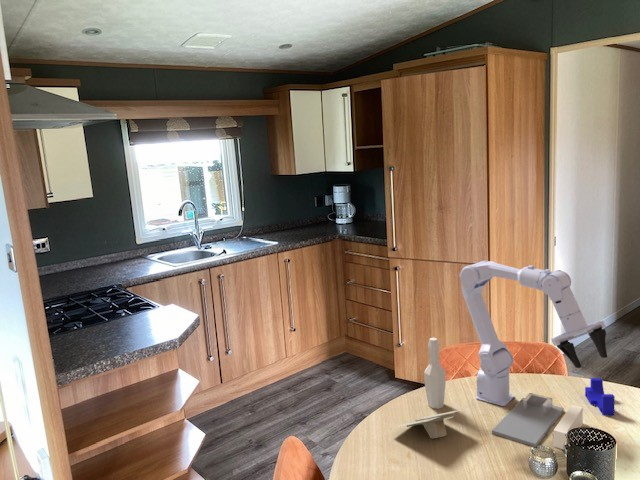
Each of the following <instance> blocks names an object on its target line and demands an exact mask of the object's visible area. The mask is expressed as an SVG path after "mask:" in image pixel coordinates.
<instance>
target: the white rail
mask: <svg viewBox="0 0 640 480" xmlns="http://www.w3.org/2000/svg"><path fill="white" fill-rule="evenodd" d="M583 411H584V408H583V407H581V406H578V405H573V404H571V405H570V406H569V408H568V409H567V410H566V412H565V413H564V415H563V416H562V417H561V419H560V420H559V422H558V423H557V425H556V426H555V428H554V429H553V448H556V449H559V450H560V449H561V450H562V451H565V450H564V448H563V444H564V442H565V440H566V437H565V434H566V432H567V431H569V430H570V429H573V428H575V427H580V428H581V426H582V425H583V418H584V416H583V414H584V413H583Z"/></svg>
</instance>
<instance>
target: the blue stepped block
mask: <svg viewBox="0 0 640 480" xmlns="http://www.w3.org/2000/svg"><path fill="white" fill-rule="evenodd" d="M589 383H590V384H589V386H590V387H589V386H588V387H587V386H585V387H584V388H585V389H584V396H585V397H586V399H587V401H588V403H589V405H591V406H596V407H597V408H598V410H599V412H600V413H601V415H602V416H615V398H616V397H615V395H614V394H613V393H612V394H611V393H606V394H605V390H604V384H603V383H604V382H603V379H602V378H599V377H595V378H593V377H590V381H589Z"/></svg>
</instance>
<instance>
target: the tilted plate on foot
mask: <svg viewBox="0 0 640 480" xmlns="http://www.w3.org/2000/svg"><path fill="white" fill-rule="evenodd" d="M463 410H464V408H463V409H458V410H451V411H447V412H444V413H438V414H437V413H436V414H432V415H427V416H424V417H421V418H418V419H415V420H414V421H413V422H412V421H411V422H408V423H402V424H399V425H398V426H397V425H396V426H393V427H392V428H390V430H392V429H397V428H402V427H407V428H408V427H415V426H419V425H422V426H423V427H424V429H425V431H426V432H427V434H428V436H429V437H430V439H438V438H442V437H445V436H447V435H448V434H447V433H448V432H447V430H446V425H445V421H447V420H450V419H452V418H454V417H455V415H454V413H456V412H460V411H463Z"/></svg>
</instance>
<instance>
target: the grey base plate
mask: <svg viewBox="0 0 640 480" xmlns="http://www.w3.org/2000/svg"><path fill="white" fill-rule="evenodd" d="M564 411H565V409H564V407H561V406H557V405H553V397H548V396H544V395H540V394H538V393H537V394H536V393H533V392H532V393H531V392H529V393H528V394H527V395H526V396H525V397H522V398H521V399H520V400H519V401H518V403H516V405H515V406H514V407H513V408H512V409H511V410H510V411H509V412H508V413H507V414H506V415H505V416H504V417H503V418H502V419H501V420H500V422H498V423H497V425H496V426H494V427H493V429H492V430H491V434H493V435H494V436H498V437H501V438H504V439H507V440H511V441H514V442H518V443H521V444H522V445H527V446H530V447H533V448H536V447H537V446H538V445H539V444H540V442H541V441H542V440H543V438H544V437H545V436H546V434H547V433H548V432H549V431H550V429H551V428H552V427H553V426H554V424H555V423H556V421H558V419H559V418H560V417H561V415H562V414H563V413H564Z"/></svg>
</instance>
